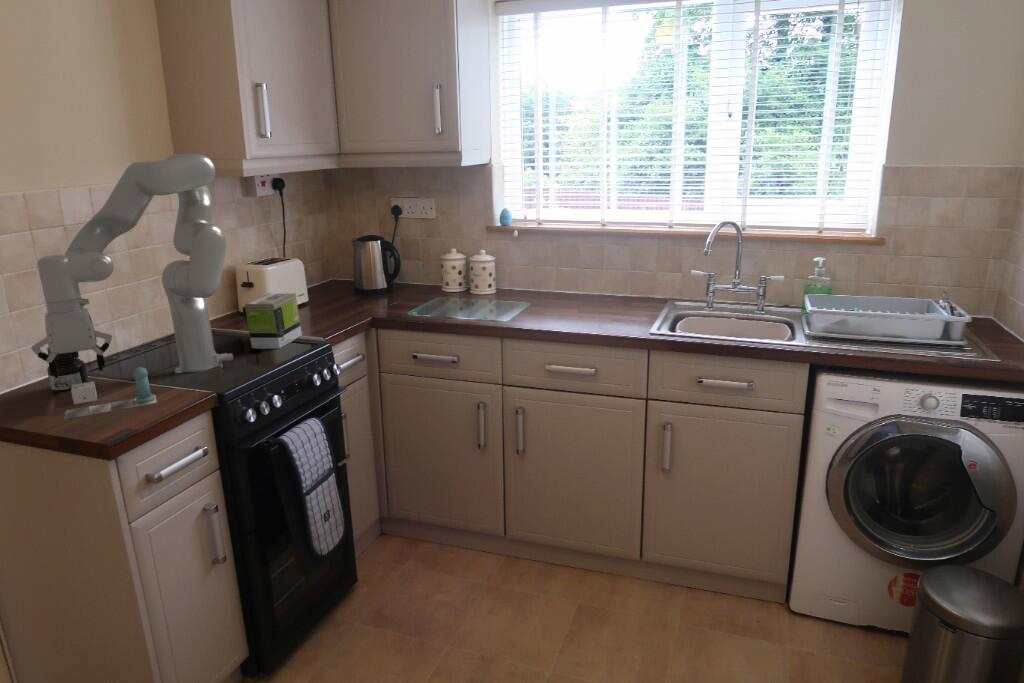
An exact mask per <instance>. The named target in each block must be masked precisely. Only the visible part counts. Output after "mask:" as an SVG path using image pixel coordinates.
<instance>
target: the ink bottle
mask: <svg viewBox="0 0 1024 683" xmlns="http://www.w3.org/2000/svg"><path fill="white" fill-rule="evenodd" d="M46 350H47V353H48V355H49V354H50V350H49V346H47V349H46ZM79 357H80V355H79V351H77V352H71V353H63V354H57V355H56V356H55V358H54V360H56V363H57V368H58V372H59V376H58V378H55V377H54V374H52V375H51V372H50V368H49V366H48V367H47V369H46V370H47V371H46V373H47V375H48V380H49V385H50V388H51V389H50V390H51V392H52V393H54V394H61V393H67V392H71V386H72V385H75V384H81V383H87V382H90V379H89V375H88V371H87V365H86V363H85V361H84V360H81V359H80V358H79Z"/></svg>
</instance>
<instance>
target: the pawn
mask: <svg viewBox="0 0 1024 683" xmlns="http://www.w3.org/2000/svg"><path fill="white" fill-rule="evenodd" d="M148 374H149V373H148V370H147V369H146V368H145V367H142V366H141V367H140V366H139V367H137V368H135V369H134V370H133V372H132V375H133V378H134V381H135V385H136V390H137V391H136V392H137V396H136V397H135V398H136V401H137V403H147V402H151V401H153V400H154V395H155V394H153V393H151V388H150V384H149V382H150V381H149V377H148Z"/></svg>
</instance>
